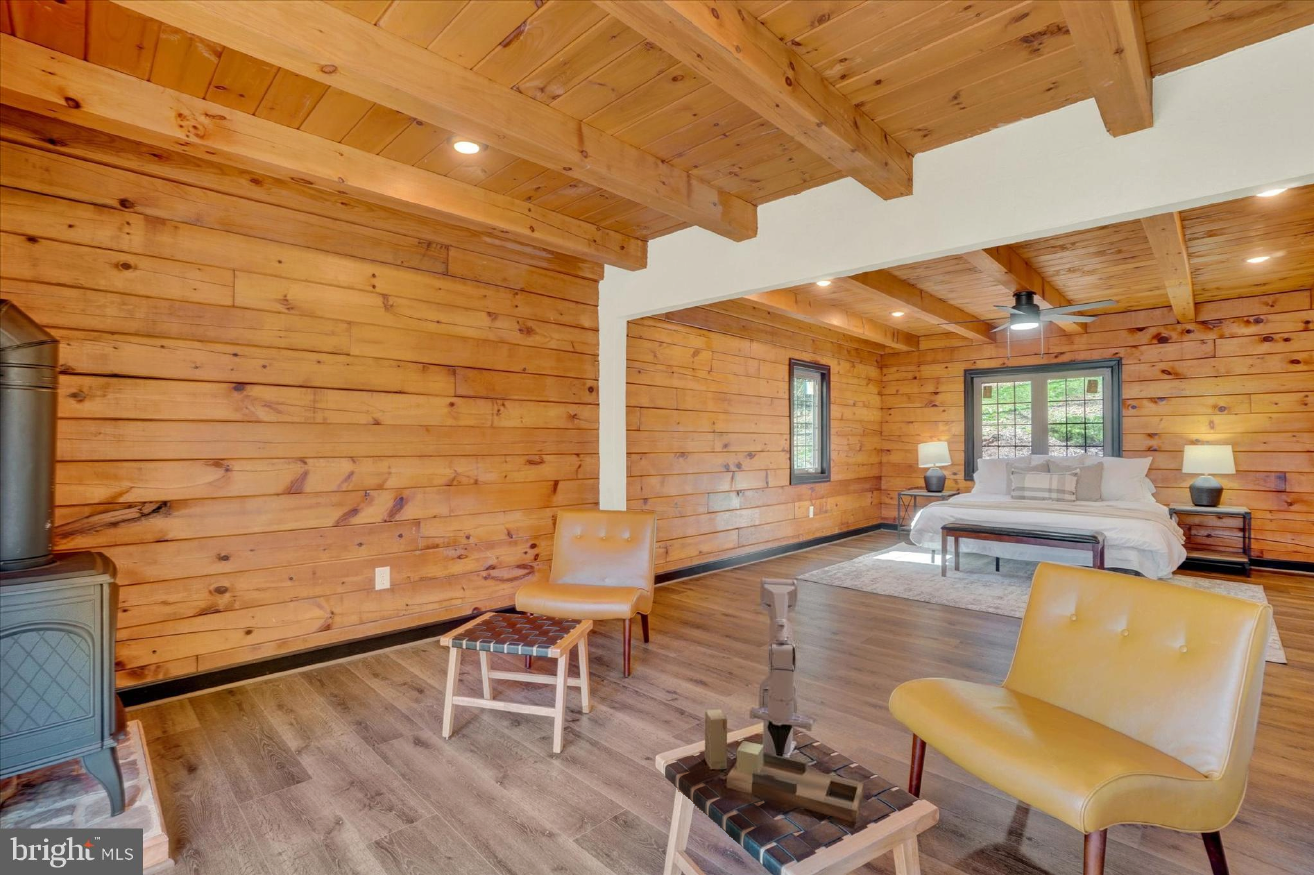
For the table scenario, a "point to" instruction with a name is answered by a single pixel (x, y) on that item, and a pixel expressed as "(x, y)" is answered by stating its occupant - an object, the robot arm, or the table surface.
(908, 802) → the table surface
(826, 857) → the table surface
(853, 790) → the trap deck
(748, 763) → the sage block
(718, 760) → the skincare box
